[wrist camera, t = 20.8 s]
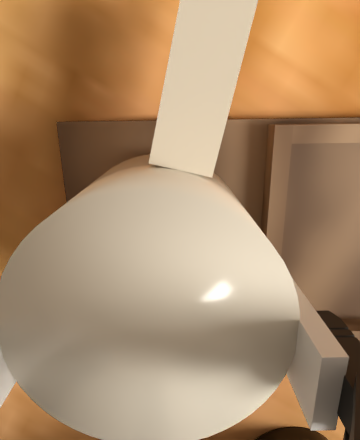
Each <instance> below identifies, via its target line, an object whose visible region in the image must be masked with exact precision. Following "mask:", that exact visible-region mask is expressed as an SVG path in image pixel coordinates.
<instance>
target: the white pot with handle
mask: <svg viewBox="0 0 360 440" xmlns="http://www.w3.org/2000/svg"><path fill="white" fill-rule="evenodd" d="M257 2H258V0H180V4H179V9H178V14H177V19H176V24H175V29H174V35H173V40H172V45H171V50H170V55H169V60H168V66H167V71H166V76H165V81H164V86H163V91H162V96H161V102H160V107H159V112H158V117H157V122H156V127H155V133H154V138H153V143H152V148H151V153H150V154H148V155H142V156H138V157H134V158H131V159H128V160H126V161H123V162H121V163H119V164H117V165H116V166H114V167H112V168H111V169H109V170H108V171H107V172H106V173H104V174H103V175H102V176H100V177H99V178H98V179H97V180H95V181H94V182H93V183H91V184H90V185H89V186H87V187H86V188H85V189H84V190H82V191H81V192H80V193H78V194H77V195H76V196H75V197H73V198H72V199H71V200H69V201H68V202H67V203H66V204H64V205H63V206H62V207H60V208H59V209H58V210H57V211H55V212H54V213H53V214H51V215H50V216H49V217H48V218H46V219H45V220H44V221H42V222H41V223H40V224H38V225H37V226H36V227H35V228H34V229H33V230H32V231H31V232H30V233H29V234H28V235H27V236H26V237H25V238H24V239H23V240H22V241H21V243H20V244H19V246H18V247H17V248H16V250H15V251H14V253H13V254H12V255H11V257H10V259H9V261H8V263H7V265H6V267H5V269H4V271H3V273H2V276H1V279H0V346H1V351H2V355H3V358H4V360H5V362H6V364H7V366H8V368H9V370H10V372H11V374H12V375H13V377H14V378H15V380H16V381H17V383H18V384H19V386H20V387H21V388H22V389H23V390H24V392H25V393H26V394H27V395H28V396H29V397H30V398H31V399H32V400H33V401H34V402H35V403H36V404H37V405H38V406H39V407H41V408H42V409H43V410H44V411H45V412H47V413H48V414H49V415H51V416H52V417H54V418H55V419H57V420H58V421H60V422H62V423H63V424H65V425H67V426H69V427H71V428H73V429H74V430H77V431H79V432H82V433H84V434H86V435H89V436H92V437H95V438H98V439H101V440H199V439H203V438H206V437H209V436H212V435H214V434H217V433H219V432H221V431H224V430H226V429H228V428H229V427H231V426H233V425H235V424H237V423H239V422H240V421H242V420H243V419H245V418H246V417H247V416H249V415H250V414H252V413H253V412H254V411H255V410H256V409H258V408H259V407H260V406H261V405H262V404H263V403H264V402H265V401H266V400H267V399H268V398H269V397H270V396H271V395H272V393H273V392H274V391H275V390H276V389H277V387H278V386H279V384H280V383H281V381H282V380H283V378H284V377H285V375H286V373H287V371H288V369H289V367H290V365H291V363H292V360H293V357H294V354H295V350H296V342H297V334H298V325H299V320H300V309H299V302H298V296H297V292H296V289H295V286H294V282H293V279H292V277H291V275H290V273H289V271H288V269H287V267H286V265H285V262H284V261H283V259H282V258H281V257H280V255H279V254H278V252H277V251H276V249H275V248H274V246H273V245H272V244H271V242H270V241H269V240H268V238H267V237H266V236H265V234H264V233H263V232H262V231H261V229H260V228H259V227H258V225H257V224H256V223H255V221H254V220H253V219H252V217H251V216H250V215H249V213H248V212H247V211H246V210H245V208H244V207H243V206H242V204H241V203H240V202H239V200H238V199H237V198H236V196H235V195H234V194H233V192H232V191H231V190H230V189H229V187H228V186H227V185H226V184H225V183H224V181H223V180H222V179H221V178H220V177H219V176H218V175H216V174H215V173H214V168H215V165H216V161H217V157H218V153H219V149H220V145H221V141H222V138H223V134H224V130H225V126H226V122H227V118H228V114H229V110H230V107H231V103H232V99H233V95H234V91H235V87H236V83H237V79H238V76H239V72H240V68H241V64H242V60H243V56H244V52H245V48H246V45H247V41H248V37H249V33H250V29H251V25H252V21H253V18H254V14H255V10H256V6H257Z"/></svg>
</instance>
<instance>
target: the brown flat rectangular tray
mask: <svg viewBox="0 0 360 440" xmlns="http://www.w3.org/2000/svg"><path fill="white" fill-rule="evenodd" d="M156 122H157V120H155V121H83V122H57V130H58V138H59V146H60V154H61V161H62V169H63V177H64V185H65V193H66V200H67V202H68V201H69V200H71V199H72V198H73V197H75V196H76V195H77V194H78V193H80V192H81V191H82V190H84V189H85V188H86V187H87V186H89V185H90V184H91V183H93V182H94V181H95V180H97V179H98V178H99V177H100V176H102V175H103V174H104V173H106V172H107V171H108V170H109V169H111V168H112V167H114V166H116V165H117V164H119V163H121V162H123V161H126V160H128V159H131V158H134V157H138V156H142V155H148V154H150V153H151V148H152V143H153V138H154V133H155V127H156ZM214 173H215V174H216V175H218V176H219V177H220V178H221V179H222V180H223V181H224V183H225V184H226V185H227V186H228V187H229V189H230V190H231V191H232V192H233V194H234V195H235V196H236V198H237V199H238V200H239V202H240V203H241V204H242V206H243V207H244V208H245V210H246V211H247V212H248V213H249V215H250V216H251V217H252V219H253V220H254V221H255V223H256V224H257V225H258V227H259V228H260V229H261V231H262V232H263V233H264V234H265V236H266V237H267V238H268V240H269V241H270V242H271V244H272V245H273V246H274V248H275V249H276V251H277V252H278V254H279V255H280V257H281V258H282V259H283V261H284V262H285V265H286V267H287V269H288V271H289V273H290V275H291V277H292V278H293V280H294V281H295V282H296V284H297V285H298V287H299V288H300V289H301V291H302V292H303V294H304V295H305V296H306V298H307V299H308V301H309V302H310V303H311V305H312V306H313V307H314V309H315V310H316V311H324V310H329V311H331V312H332V313H334V314H335V315H336V316H338V317H339V318H341V319H342V320H343V322H344V323H345V324H346V325H347V327H348V329H349V330H351V332H352V333H353V334H354V335H355V337H356V338H357V339H358V340H359V341H360V118H300V119H227V122H226V126H225V130H224V134H223V138H222V141H221V145H220V149H219V153H218V157H217V161H216V165H215V168H214Z"/></svg>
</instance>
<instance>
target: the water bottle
mask: <svg viewBox="0 0 360 440" xmlns="http://www.w3.org/2000/svg"><path fill="white" fill-rule="evenodd" d="M255 440H328V439H327V438H326V437H324V436H323V435H321V434H320V433H318V432H316V431H313V430H312V431H311V430H310V429H306V428H300V427H287V428H280V429H276V430H273V431H270V432H267V433H265V434H263V435H261V436H260V437H258V438H257V439H255Z"/></svg>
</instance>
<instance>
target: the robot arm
mask: <svg viewBox="0 0 360 440" xmlns="http://www.w3.org/2000/svg"><path fill="white" fill-rule="evenodd" d="M292 279H293V278H292ZM293 282H294V286H295V289H296V292H297V296H298V302H299V309H300V320H299V325H298V334H297V342H296V350H295V354H294V357H293V360H292V363H291V365H290V367H289V369H288V371H287V373H286V374H287V376H288V378H289V381H290V383H291V385H292V388H293V390H294V392H295V395H296V397H297V399H298V402H299V404H300V406H301V409H302V411H303V413H304V416H305V418H306V420H307V423H308V425H309V428H310V430H311V431H312V430H336V425H337V420H338V416H339V417H340V419H341V421H342V423H343V425H344V427H345V433H344V438H343V440H360V341H359V340H358V339H357V338H356V337H355V335H354V334H353V333H352V332H351V330H349V329H348V327H347V325H346V324H345V323H344V322H343V320H342V319H341V318H339V317H338V316H336V315H335V314H334V313H332V312H331V311H329V310H324V311H316V310H315V309H314V307H313V306H312V305H311V303H310V302H309V301H308V299H307V298H306V296H305V295H304V294H303V292H302V291H301V289H300V288H299V287H298V285H297V284H296V282H295V281H294V280H293ZM15 383H16V380H15V378H14V377H13V375H12V374H11V372H10V370H9V368H8V366H7V364H6V362H5V360H4V358H3V355H2V351H1V346H0V407H1V406H2V404H3V402H4V401H5V399H6V398H7V396H8V394H9V393H10V391H11V389H12V388H13V386H14V384H15Z"/></svg>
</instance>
